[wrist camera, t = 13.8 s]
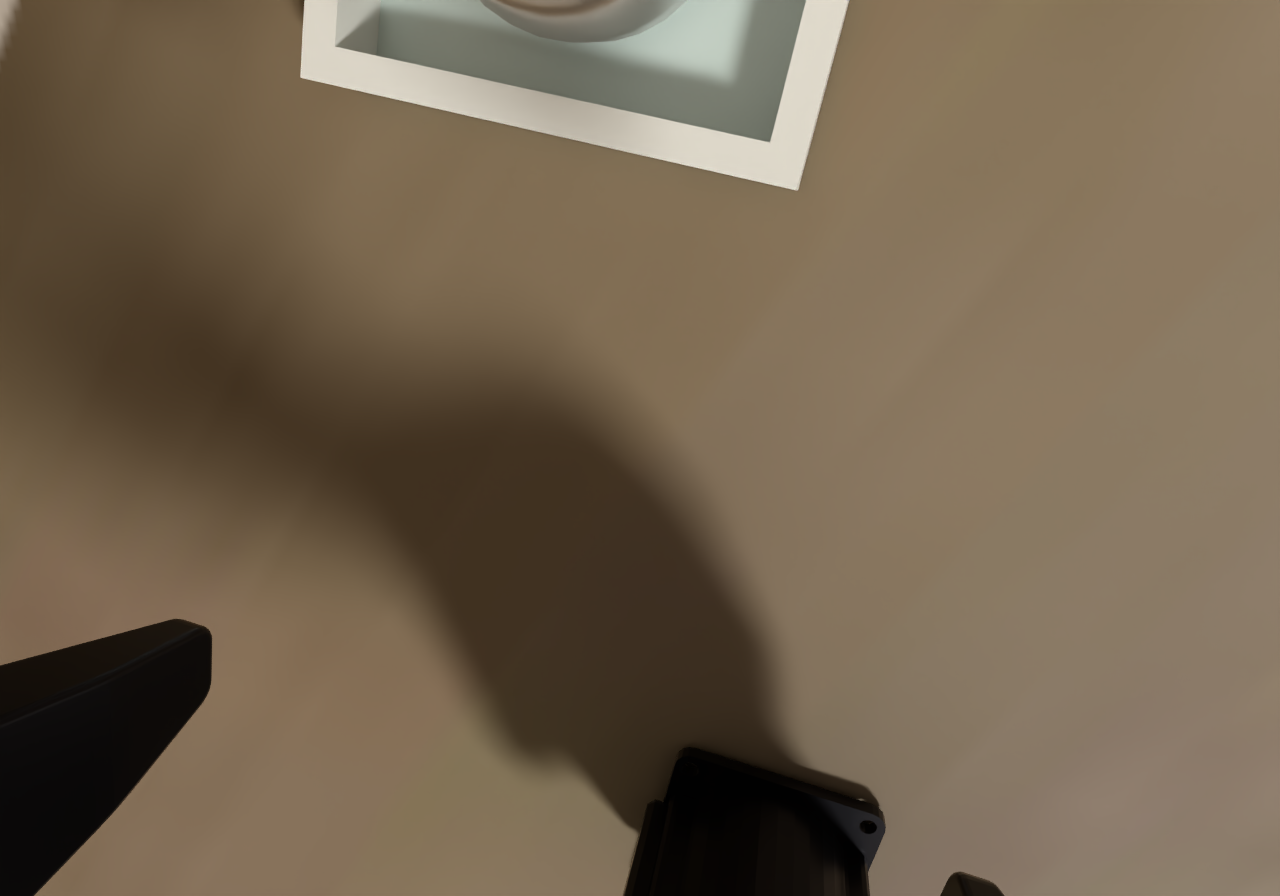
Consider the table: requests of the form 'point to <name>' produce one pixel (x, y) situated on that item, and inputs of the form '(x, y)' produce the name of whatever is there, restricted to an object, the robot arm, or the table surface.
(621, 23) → the plastic bottle
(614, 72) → the tray
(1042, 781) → the table surface
